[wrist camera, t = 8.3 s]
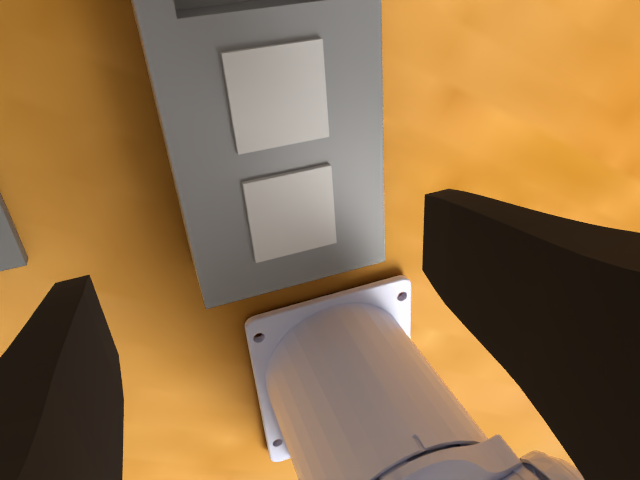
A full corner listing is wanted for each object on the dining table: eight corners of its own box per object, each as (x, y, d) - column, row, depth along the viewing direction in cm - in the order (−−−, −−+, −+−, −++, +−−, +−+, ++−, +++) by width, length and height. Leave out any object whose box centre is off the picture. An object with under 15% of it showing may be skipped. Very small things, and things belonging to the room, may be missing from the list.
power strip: (354, 227, 23) (389, 266, 20) (193, 266, 21) (207, 315, 18) (326, -373, 14) (383, -454, 11) (38, -392, 12) (17, -494, 9)
